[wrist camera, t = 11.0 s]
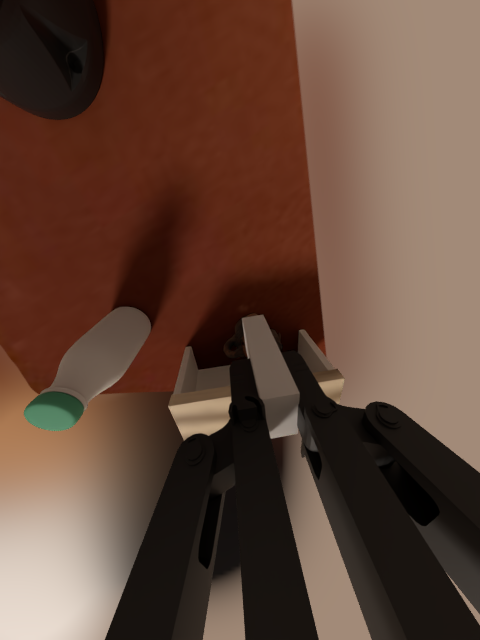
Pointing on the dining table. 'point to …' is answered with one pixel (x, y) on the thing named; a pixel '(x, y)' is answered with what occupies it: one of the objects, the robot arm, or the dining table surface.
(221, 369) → the small wooden bench
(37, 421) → the milk bottle
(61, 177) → the dining table surface
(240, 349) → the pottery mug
